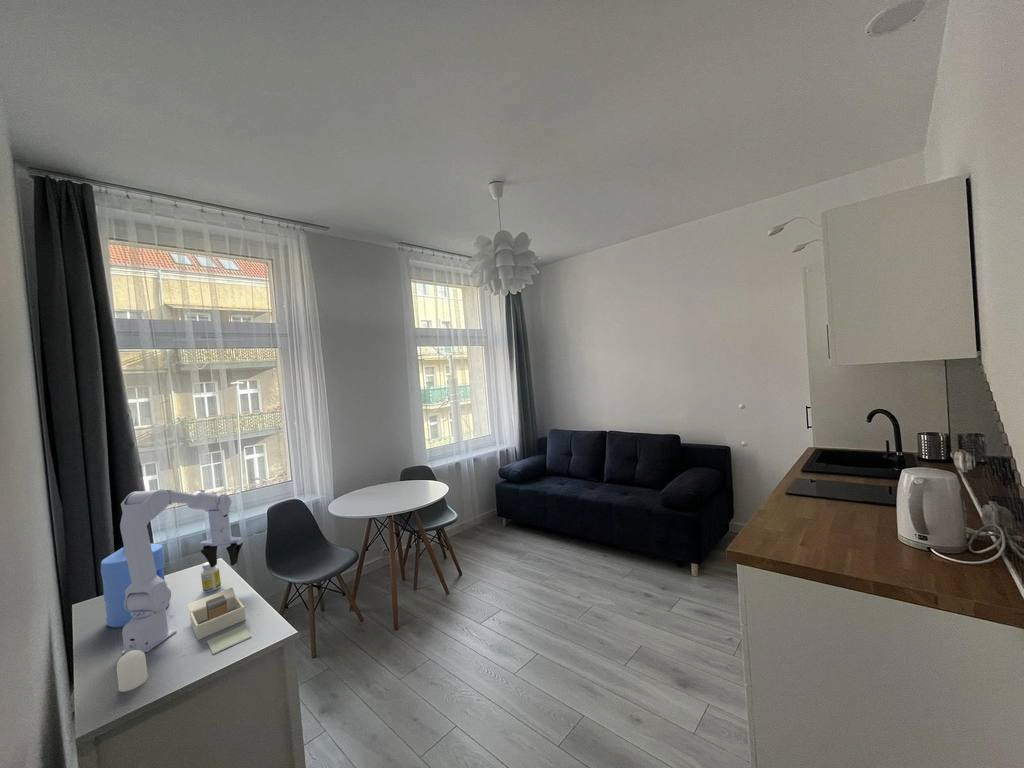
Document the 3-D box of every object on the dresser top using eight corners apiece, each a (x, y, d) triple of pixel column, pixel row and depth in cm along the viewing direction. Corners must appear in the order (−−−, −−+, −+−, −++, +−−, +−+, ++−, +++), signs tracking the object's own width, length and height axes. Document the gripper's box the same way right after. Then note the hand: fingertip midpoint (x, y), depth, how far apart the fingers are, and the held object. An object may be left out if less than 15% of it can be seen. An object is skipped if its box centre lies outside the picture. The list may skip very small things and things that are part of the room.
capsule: (122, 682, 102) (119, 651, 102) (150, 672, 105) (146, 642, 105) (115, 695, 97) (111, 662, 97) (144, 684, 100) (141, 653, 100)
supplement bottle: (218, 583, 154) (215, 558, 154) (223, 587, 150) (220, 561, 150) (201, 590, 149) (198, 564, 149) (205, 594, 146) (202, 567, 146)
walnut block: (228, 621, 126) (226, 599, 126) (211, 628, 123) (208, 606, 123) (225, 616, 129) (223, 594, 129) (208, 623, 126) (205, 601, 126)
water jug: (111, 634, 125) (101, 545, 125) (103, 620, 135) (93, 537, 134) (175, 608, 138) (166, 527, 137) (163, 597, 147) (154, 521, 147)
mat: (251, 637, 116) (251, 635, 116) (213, 654, 109) (213, 653, 109) (243, 626, 122) (243, 624, 122) (207, 642, 116) (206, 640, 116)
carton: (248, 623, 123) (246, 605, 123) (200, 645, 115) (197, 625, 115) (234, 603, 137) (232, 587, 137) (189, 621, 128) (187, 603, 128)
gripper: (247, 522, 149) (251, 558, 149) (209, 525, 150) (213, 561, 150) (233, 529, 142) (237, 567, 142) (193, 532, 143) (197, 570, 143)
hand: (224, 565), depth 146 cm, fingers open, 7 cm apart
